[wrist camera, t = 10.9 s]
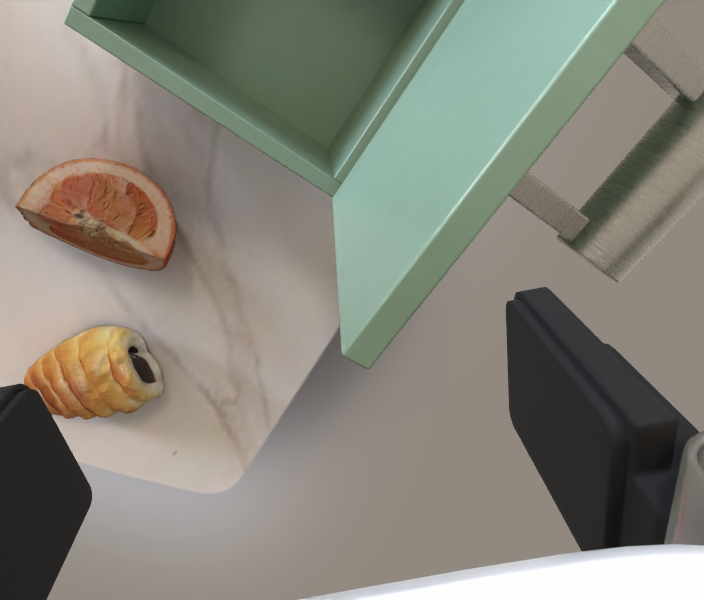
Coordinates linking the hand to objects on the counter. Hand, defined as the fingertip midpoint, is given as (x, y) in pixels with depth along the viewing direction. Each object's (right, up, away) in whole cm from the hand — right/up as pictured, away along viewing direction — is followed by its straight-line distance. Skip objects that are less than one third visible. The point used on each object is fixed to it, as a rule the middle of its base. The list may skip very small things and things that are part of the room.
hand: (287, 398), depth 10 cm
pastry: (-17, -3, +28) cm, 33 cm away
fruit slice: (-14, +8, +23) cm, 28 cm away
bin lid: (+5, +9, +6) cm, 12 cm away
